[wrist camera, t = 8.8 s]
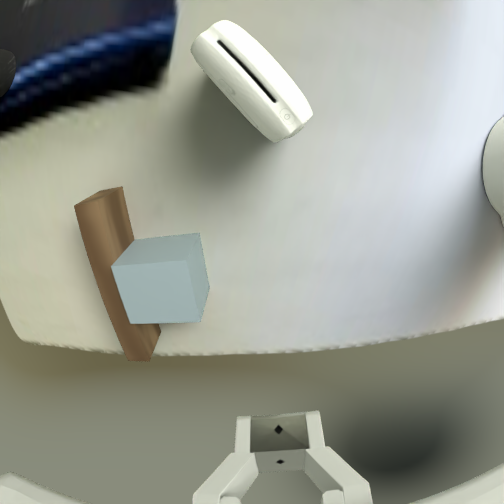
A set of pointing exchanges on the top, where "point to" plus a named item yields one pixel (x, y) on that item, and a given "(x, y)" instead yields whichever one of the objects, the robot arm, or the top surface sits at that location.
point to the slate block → (163, 279)
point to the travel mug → (6, 70)
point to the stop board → (103, 257)
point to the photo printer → (252, 80)
